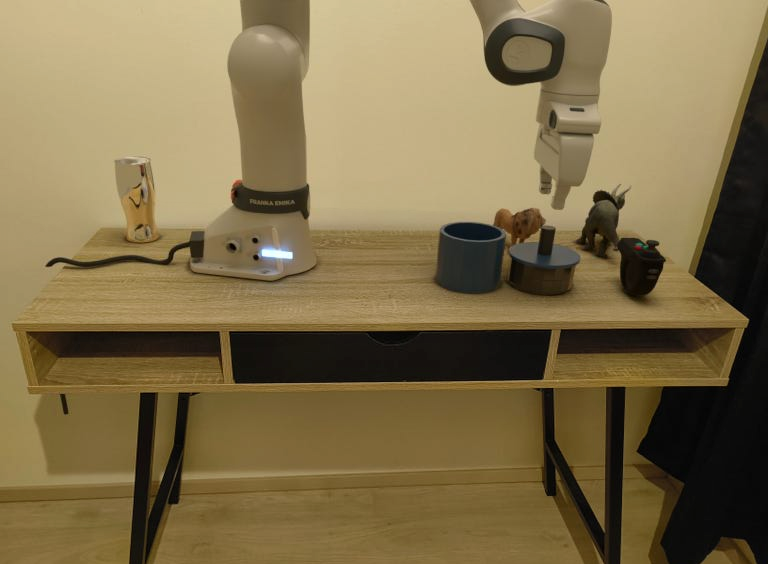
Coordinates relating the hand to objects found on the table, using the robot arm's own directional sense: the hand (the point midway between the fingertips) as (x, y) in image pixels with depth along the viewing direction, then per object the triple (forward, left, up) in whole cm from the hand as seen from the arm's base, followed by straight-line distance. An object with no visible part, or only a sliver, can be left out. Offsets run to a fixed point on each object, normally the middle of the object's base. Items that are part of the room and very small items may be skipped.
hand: (550, 200), depth 111 cm
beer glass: (-74, +17, -15) cm, 78 cm away
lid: (0, 0, -10) cm, 10 cm away
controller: (+16, -2, -15) cm, 22 cm away
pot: (-12, 0, -15) cm, 19 cm away
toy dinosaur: (+16, +20, -15) cm, 29 cm away
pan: (0, 0, -15) cm, 15 cm away
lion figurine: (-1, +20, -15) cm, 25 cm away
